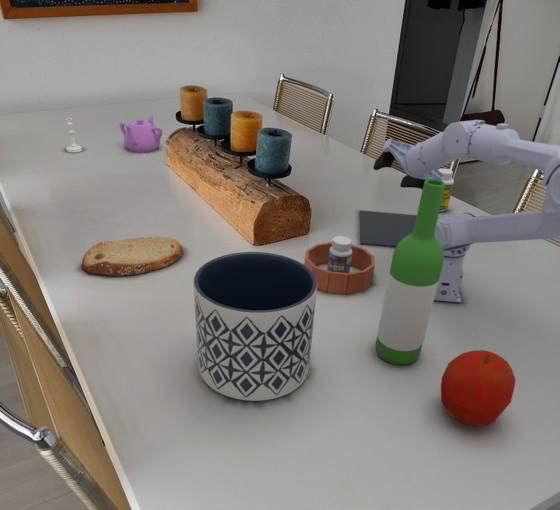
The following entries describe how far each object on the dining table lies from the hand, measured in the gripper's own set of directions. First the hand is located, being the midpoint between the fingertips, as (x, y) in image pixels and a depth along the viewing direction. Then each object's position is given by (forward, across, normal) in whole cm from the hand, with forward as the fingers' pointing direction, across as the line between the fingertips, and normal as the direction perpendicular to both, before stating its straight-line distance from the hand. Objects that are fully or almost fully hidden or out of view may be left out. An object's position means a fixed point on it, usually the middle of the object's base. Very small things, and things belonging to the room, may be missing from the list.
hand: (389, 174), depth 118 cm
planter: (-15, +20, +52) cm, 58 cm away
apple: (-36, -7, +48) cm, 60 cm away
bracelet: (+2, +3, +25) cm, 25 cm away
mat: (+14, -16, +3) cm, 21 cm away
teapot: (+86, +43, -12) cm, 97 cm away
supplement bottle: (+20, -28, -11) cm, 37 cm away
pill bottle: (+2, +2, +25) cm, 26 cm away
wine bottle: (-21, -2, +41) cm, 46 cm away
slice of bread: (+22, +40, +36) cm, 58 cm away
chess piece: (+90, +62, -2) cm, 109 cm away
